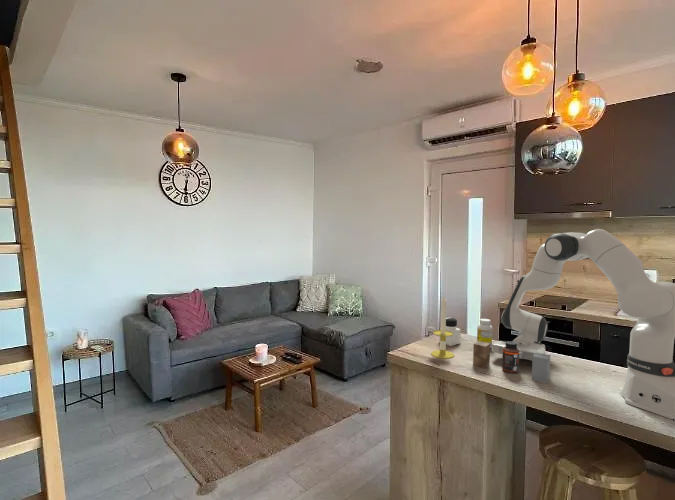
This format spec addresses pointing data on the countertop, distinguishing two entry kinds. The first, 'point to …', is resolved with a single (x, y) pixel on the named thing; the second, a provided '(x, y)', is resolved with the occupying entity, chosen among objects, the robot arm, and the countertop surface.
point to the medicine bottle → (452, 327)
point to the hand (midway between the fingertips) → (512, 356)
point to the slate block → (541, 367)
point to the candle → (443, 335)
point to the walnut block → (481, 354)
